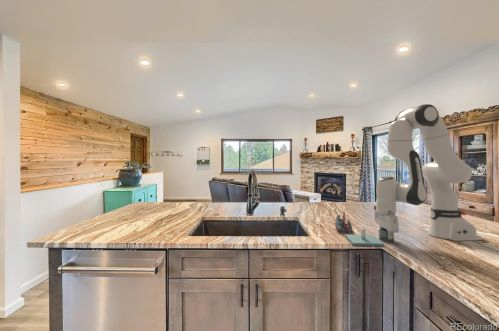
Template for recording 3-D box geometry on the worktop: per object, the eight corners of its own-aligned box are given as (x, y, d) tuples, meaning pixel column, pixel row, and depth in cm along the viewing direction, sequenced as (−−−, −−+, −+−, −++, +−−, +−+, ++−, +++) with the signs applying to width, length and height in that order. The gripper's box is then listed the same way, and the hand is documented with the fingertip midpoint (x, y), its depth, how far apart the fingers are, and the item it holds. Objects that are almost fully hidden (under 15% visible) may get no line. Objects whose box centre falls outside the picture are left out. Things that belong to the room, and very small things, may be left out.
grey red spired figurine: (358, 229, 141) (343, 211, 143) (341, 240, 143) (327, 222, 145) (355, 224, 152) (342, 208, 153) (339, 235, 154) (326, 218, 156)
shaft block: (373, 237, 134) (372, 225, 134) (383, 246, 120) (383, 233, 120) (345, 236, 136) (345, 225, 136) (352, 245, 122) (352, 232, 122)
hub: (390, 238, 132) (390, 228, 132) (395, 242, 126) (395, 231, 126) (377, 238, 133) (377, 228, 133) (382, 241, 127) (382, 231, 127)
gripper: (402, 213, 119) (402, 243, 119) (384, 205, 139) (384, 231, 139) (388, 213, 120) (388, 243, 120) (372, 205, 140) (372, 231, 140)
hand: (386, 236), depth 130 cm, fingers closed on hub, 6 cm apart
